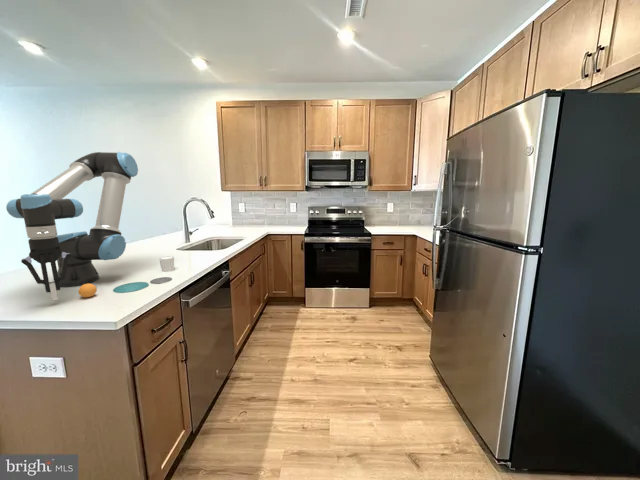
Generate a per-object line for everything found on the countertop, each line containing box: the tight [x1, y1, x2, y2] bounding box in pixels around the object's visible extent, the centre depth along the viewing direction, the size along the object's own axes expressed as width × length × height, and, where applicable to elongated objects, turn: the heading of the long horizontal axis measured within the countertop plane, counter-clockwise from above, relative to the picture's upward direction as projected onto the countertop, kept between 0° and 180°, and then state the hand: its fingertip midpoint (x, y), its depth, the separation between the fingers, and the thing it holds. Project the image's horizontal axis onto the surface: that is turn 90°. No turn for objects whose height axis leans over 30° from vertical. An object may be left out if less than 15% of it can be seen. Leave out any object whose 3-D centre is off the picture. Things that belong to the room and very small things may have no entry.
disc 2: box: [149, 276, 173, 285], centre depth 127 cm, size 9×9×1 cm
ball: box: [78, 283, 98, 298], centre depth 107 cm, size 6×6×6 cm
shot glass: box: [158, 256, 175, 273], centre depth 143 cm, size 7×7×7 cm
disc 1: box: [112, 281, 149, 294], centre depth 118 cm, size 13×13×1 cm
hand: (54, 299), depth 100 cm, fingers closed
